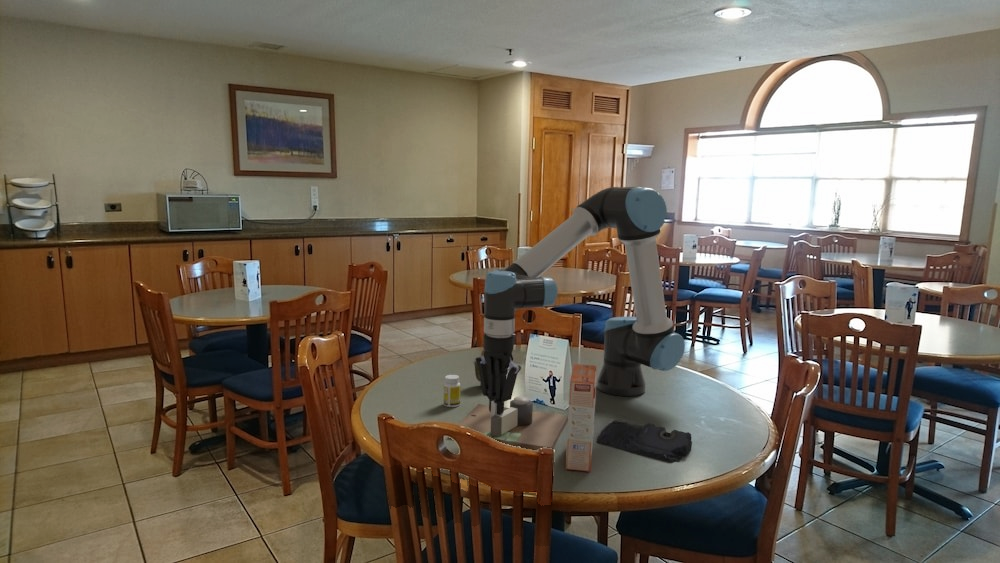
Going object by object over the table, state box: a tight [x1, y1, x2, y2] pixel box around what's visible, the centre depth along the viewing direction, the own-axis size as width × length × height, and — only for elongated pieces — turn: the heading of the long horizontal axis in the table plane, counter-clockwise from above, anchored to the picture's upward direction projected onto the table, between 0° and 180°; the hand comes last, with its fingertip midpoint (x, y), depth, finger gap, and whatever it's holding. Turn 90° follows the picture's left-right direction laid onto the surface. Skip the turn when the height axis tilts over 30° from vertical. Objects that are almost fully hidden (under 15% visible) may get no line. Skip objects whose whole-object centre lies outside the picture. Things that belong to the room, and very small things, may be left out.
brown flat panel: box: [458, 403, 568, 450], centre depth 157 cm, size 26×23×1 cm
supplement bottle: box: [443, 374, 461, 408], centre depth 173 cm, size 5×5×8 cm
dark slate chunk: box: [596, 419, 693, 464], centre depth 150 cm, size 15×22×5 cm
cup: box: [474, 360, 482, 388], centre depth 190 cm, size 8×7×8 cm
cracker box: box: [565, 363, 597, 473], centre depth 139 cm, size 14×6×21 cm, turn 170°
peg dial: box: [491, 396, 534, 437], centre depth 154 cm, size 15×6×6 cm, turn 146°
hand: (495, 424), depth 152 cm, fingers closed
